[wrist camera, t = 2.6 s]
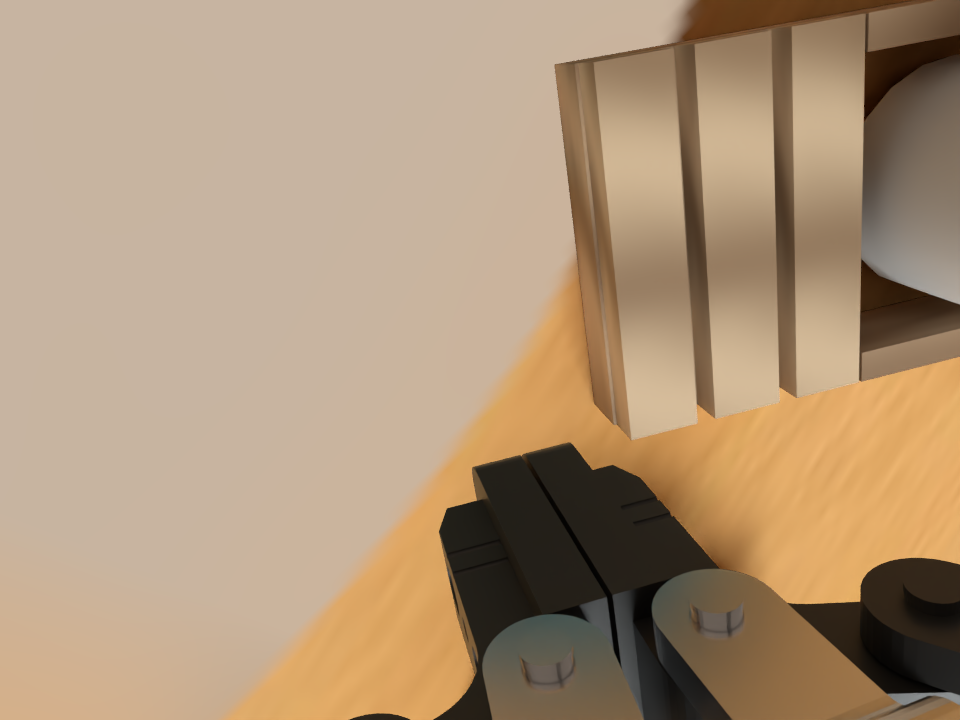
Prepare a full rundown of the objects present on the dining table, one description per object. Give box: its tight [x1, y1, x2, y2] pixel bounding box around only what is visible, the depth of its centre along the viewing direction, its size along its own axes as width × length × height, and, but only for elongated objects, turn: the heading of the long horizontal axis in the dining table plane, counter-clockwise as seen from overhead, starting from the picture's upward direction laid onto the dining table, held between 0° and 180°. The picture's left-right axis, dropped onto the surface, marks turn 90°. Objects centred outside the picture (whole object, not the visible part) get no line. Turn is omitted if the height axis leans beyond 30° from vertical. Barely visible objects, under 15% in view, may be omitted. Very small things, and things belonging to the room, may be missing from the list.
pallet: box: [555, 0, 960, 440], centre depth 25 cm, size 11×18×3 cm, turn 99°
